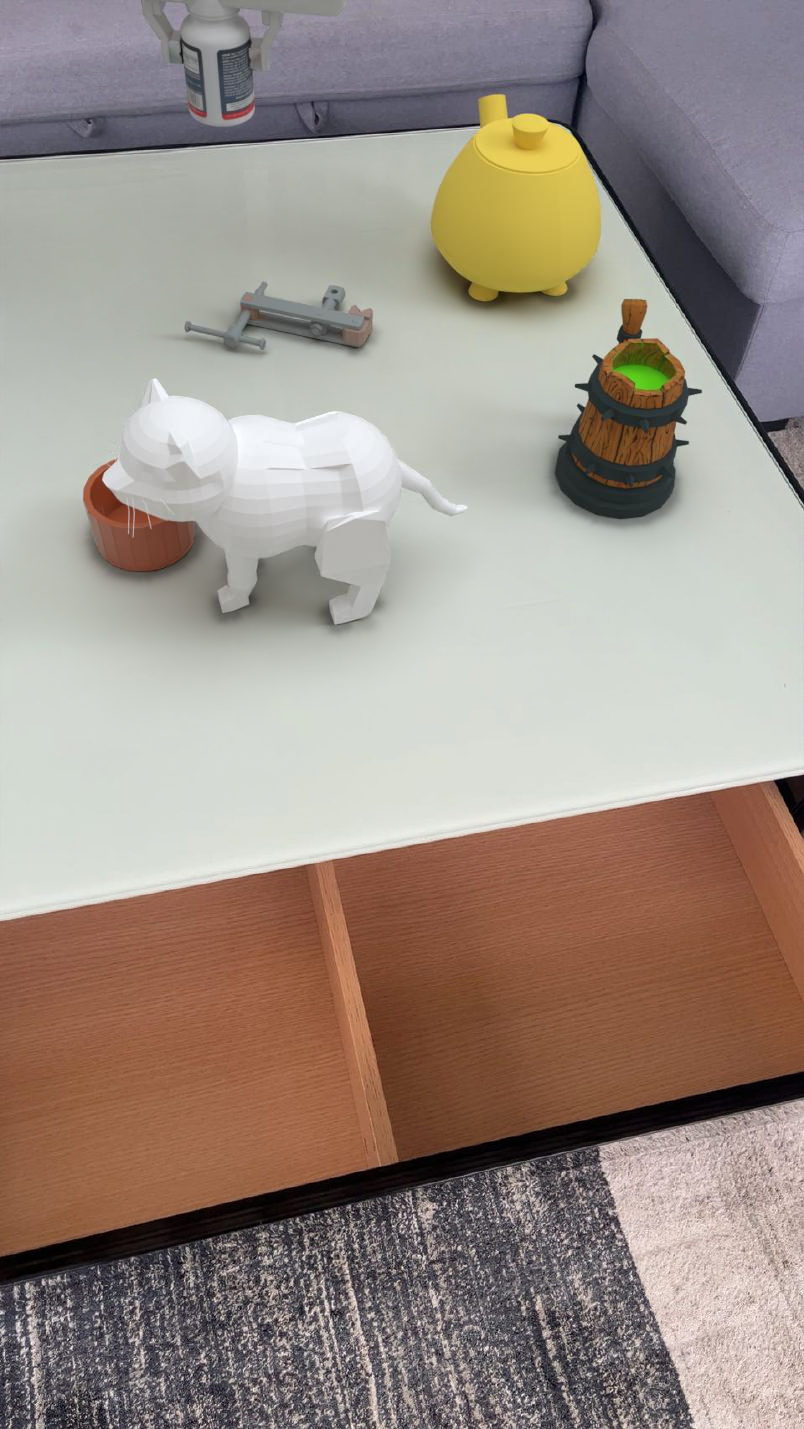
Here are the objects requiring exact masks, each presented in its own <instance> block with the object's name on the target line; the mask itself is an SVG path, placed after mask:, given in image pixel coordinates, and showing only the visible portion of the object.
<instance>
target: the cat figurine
mask: <svg viewBox="0 0 804 1429" xmlns="http://www.w3.org/2000/svg"><path fill="white" fill-rule="evenodd" d="M110 442H111V443H116V444H117V446H118V448H119V451H118V455H117V458H116V456H115V453H114V451H112V450H110V452H112V455H113V457H114V459H115V460H116V459H117V461H116V462H115V463H114V464H113V465H112V466H110V468H109V469H108V470H107V471H106V472H105V473H104V475H103V479H102V481H103V482H104V484H105V485H106V486H107V487H108V488H109V489H110V490H111V491H112V492H113V493H114V495H115V496H116V498H117V499H118V500H119V501H121V502H122V503H124V504H126V505H128V509H129V506H131V507H133V509H134V508H136V509H138V510H141V511H143V512H146V513H147V514H151V515H153V516H156V517H158V518H161V519H164V520H166V521H168V520H170V521H180V522H184V521H195V523H196V524H197V526H198V527H199V528H200V530H201V531H202V532H203V533H204V534H205V536H206V537H207V538H209V539H210V540H211V541H212V542H213V543H214V544H216V545H217V546H218V547H220V548H222V549H223V550H224V551H223V552H224V557H225V562H226V567H227V575H226V580H227V583H228V584H225V585H224V586H222V587H221V588H219V589H218V590H217V596H218V601H219V606H220V610H221V613H222V614H226V613H232V612H234V611H236V610H239V609H242V608H244V607H246V606H249V605H250V600H249V599H250V598H249V597H250V595H251V593H252V591H253V589H254V588H255V586H256V584H257V582H258V573H257V570H258V566H259V560H260V559H267V558H271V557H274V556H277V555H280V554H282V553H284V552H287V551H290V550H293V549H295V548H298V547H300V546H302V545H303V546H308V547H314V548H316V549H315V552H314V554H313V555H314V560H315V562H316V565H317V568H318V571H319V575H320V577H324V578H326V579H331V580H335V581H337V582H342V583H345V584H348V585H349V584H350V586H349V588H348V591H347V593H346V594H344V593H343V594H338V595H336V596H334V597H333V598H330V599H329V601H328V602H329V603H328V604H329V606H328V607H329V608H328V609H329V613H330V616H331V619H332V622H333V625H341V624H346V623H348V622H353V621H356V620H359V619H363V618H366V617H367V616H369V615H370V614H371V613H373V610H374V607H375V605H376V603H377V600H378V597H379V595H380V593H381V591H382V588H383V586H384V584H385V581H386V579H387V575H388V572H389V569H390V566H391V555H390V548H389V547H390V546H389V539H388V538H389V537H388V530H387V528H388V526H389V525H390V523H391V522H392V520H393V518H394V517H395V514H396V513H397V510H398V507H399V504H400V500H401V496H402V491H403V490H402V489H403V488H404V489H406V490H409V491H412V492H414V493H418V494H420V495H421V496H422V497H423V499H424V500H425V502H426V503H427V504H428V506H429V507H430V509H432V510H433V511H436V512H438V513H441V514H444V515H447V516H448V517H454V516H457V515H460V514H463V513H465V512H466V511H467V510H468V508H469V506H467V505H465V504H455V503H453V502H451V501H450V500H449V499H446V498H445V497H443V496H441V494H440V493H439V491H438V490H437V488H436V487H435V486H434V485H433V483H432V481H431V480H430V479H428V478H427V477H425V476H424V475H422V474H421V473H419V472H418V471H416V470H415V469H413V468H412V467H410V466H409V465H408V464H406V463H405V462H403V461H402V460H400V459H398V456H397V453H396V451H395V449H394V448H393V446H392V445H391V442H390V441H389V439H388V438H387V437H386V436H385V435H384V433H383V432H382V431H381V430H379V429H378V428H377V427H376V426H375V425H373V424H372V423H371V422H370V421H369V420H366V419H364V418H363V417H361V416H359V415H355V414H352V413H349V412H344V411H335V410H334V411H333V410H331V411H328V412H325V413H322V414H319V415H316V416H312V417H308V418H306V419H302V420H299V421H297V422H294V423H293V422H289V421H285V420H281V419H278V418H274V417H271V416H268V415H264V414H245V415H244V414H243V415H239V416H234V417H232V418H229V419H227V418H226V417H225V416H224V415H223V414H222V413H221V412H220V411H219V410H218V409H216V408H215V407H213V406H211V405H210V404H208V403H206V402H205V401H203V400H201V399H198V398H195V397H190V396H182V395H181V396H180V395H169V393H168V392H167V391H166V389H165V388H164V387H163V385H162V384H161V383H160V381H159V380H158V379H157V377H154V378H152V379H151V380H149V381H147V384H146V388H145V390H144V394H143V397H142V401H141V404H140V407H139V408H138V409H137V410H136V411H135V412H134V413H133V414H132V415H131V416H130V417H129V418H128V419H127V421H126V423H125V425H124V428H123V432H122V440H121V446H120V444H119V443H118V442H117V441H113V440H110ZM106 451H107V452H109V450H107V449H106ZM107 463H108V462H105V461H103V462H101V463H96V464H92V465H91V467H93V466H96V465H100V464H107ZM107 465H108V464H107ZM134 515H135V514H134ZM148 518H149V516H148ZM149 523H150V520H149ZM150 527H151V525H150ZM128 534H129V523H128ZM133 535H134V524H133Z"/></svg>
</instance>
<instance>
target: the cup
mask: <svg viewBox="0 0 804 1429" xmlns="http://www.w3.org/2000/svg"><path fill="white" fill-rule="evenodd" d="M115 459H116V460H115ZM117 459H118V458H114V459H113V460H110V461H108V462H106V463H107V464H108V465H107V464H106V463H103V465H101V466H99V467H98V468H97V469H96V470H95V471H94V472H93V473H91V474H90V476H89V477H88V478H87V480H86V482H85V484H84V486H83V489H82V490H83V492H82V495H83V496H82V502H83V506H84V509H85V512H86V516H87V520H88V523H89V527H90V531H91V535H92V538H93V541H94V543H95V546H96V549H97V551H98V553H99V555H101V557H102V558H103V560H105V561H106V562H108V563H109V564H110V565H112V566H114V567H117V568H119V569H122V570H125V571H129V572H152V571H158V570H160V569H164V568H166V567H167V568H168V567H169V566H172V565H173V564H175V563H176V562H178V561H180V560H181V559H182V558H183V557H185V555H186V554H187V553H188V552H189V551H190V550H191V548H192V546H193V544H194V543H195V538H196V521H184V522H180V521H170V520H168V521H166V520H164V519H161V518H158V517H156V516H153V515H151V514H147V513H146V512H143V511H141V510H138V509H136V508H134V509H133V507H131V506H129V509H128V505H126V504H124V503H122V502H121V501H119V500H118V499H117V498H116V496H115V495H114V493H113V492H112V491H111V490H110V489H109V488H108V487H107V486H106V485H105V484H104V482H103V481H102V479H103V475H104V473H105V472H106V471H107V470H108V469H109V468H110V466H112V465H113V464H114V463H115V462H116V461H117ZM134 514H135V515H134ZM148 516H149V518H148ZM149 520H150V523H149ZM128 523H129V534H128ZM133 524H134V535H133ZM150 525H151V527H150Z"/></svg>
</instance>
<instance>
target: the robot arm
mask: <svg viewBox="0 0 804 1429" xmlns="http://www.w3.org/2000/svg"><path fill="white" fill-rule="evenodd" d="M196 1H197V0H141V2H140V3H141V10H142V15H143V17H144V19H145V20H146V22H147V23H148V24H149V26H150V28H151V29H152V31H153V32H154V33H155V36H156V37H157V38H158V40H160V42H161V51H162V59H163V60H162V61H163V63H164V64H175V65H176V64H177V65H184V61H183V51H182V42H181V30H177V29H174V27H173V25H172V24H171V22H170V20H169V19H168V17H167V15H166V13H165V12H164V8H165V6H166V4H167V3H175V4H176V3H178V4H185V3H187V4H194V3H195V2H196ZM217 1H218V2H219V4H220V5H221V6H223V7H230V8H240V10H241V9H243V10H253V11H261V24H262V26H266V28H265V30H264V32H263V34H262V36H261V37H252V36H251V44H249V48H248V50H249V58H250V62H249V68H250V70H251V71H253V72H261V73H262V72H263V73H270V69H271V65H272V64H271V63H272V44H273V43H274V41H275V39H276V37H277V36H278V33H279V31H280V30H281V27H282V23H283V20H284V16H285V13H287V14H297V15H307V16H320V17H328V18H329V17H330V18H335V17H338V16H339V15H340V14H341V13H342V12H343V10H344V9H345V7H347V5H348V2H349V0H217Z"/></svg>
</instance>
